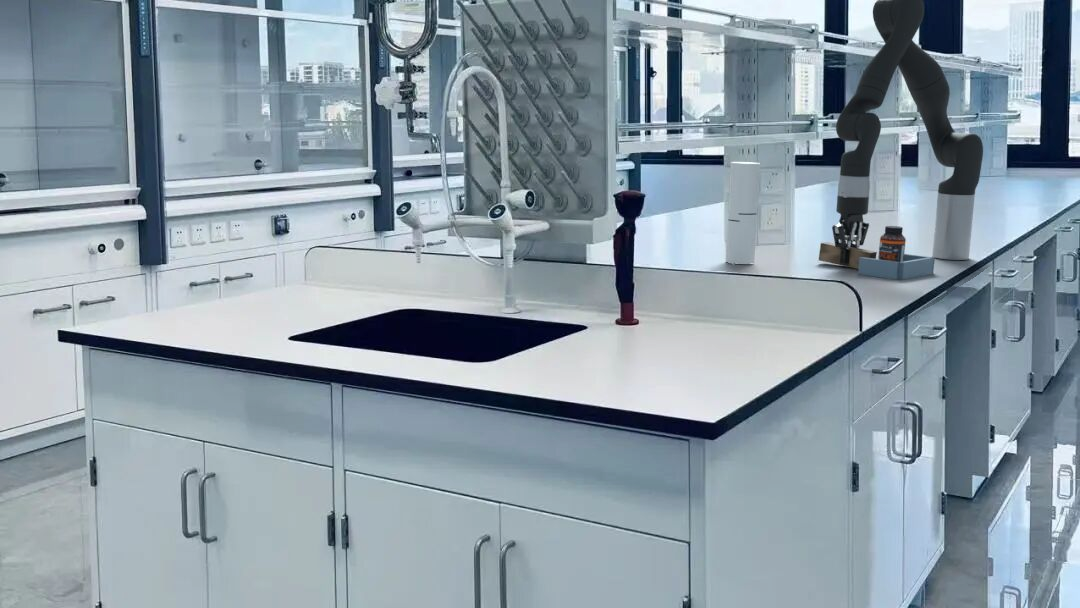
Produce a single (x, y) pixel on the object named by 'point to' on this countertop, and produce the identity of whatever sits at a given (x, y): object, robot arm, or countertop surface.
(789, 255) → the countertop surface
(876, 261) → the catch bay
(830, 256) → the scraper
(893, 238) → the supplement bottle
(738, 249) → the cylindrical container
